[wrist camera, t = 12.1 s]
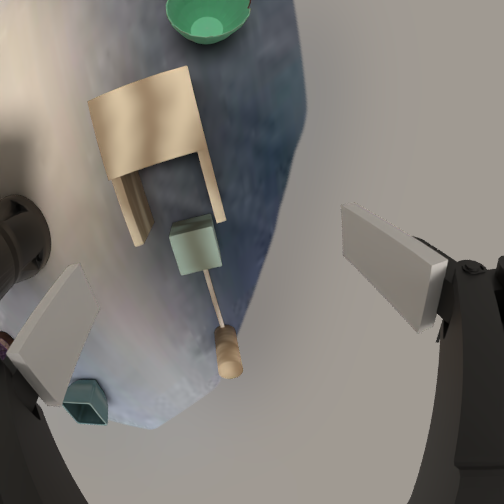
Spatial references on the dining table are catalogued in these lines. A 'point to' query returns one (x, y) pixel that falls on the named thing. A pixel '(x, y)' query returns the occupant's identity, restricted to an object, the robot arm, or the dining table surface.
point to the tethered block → (203, 258)
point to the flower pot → (86, 403)
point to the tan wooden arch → (149, 140)
